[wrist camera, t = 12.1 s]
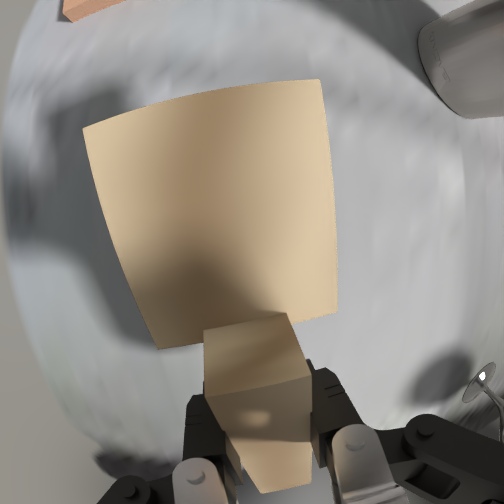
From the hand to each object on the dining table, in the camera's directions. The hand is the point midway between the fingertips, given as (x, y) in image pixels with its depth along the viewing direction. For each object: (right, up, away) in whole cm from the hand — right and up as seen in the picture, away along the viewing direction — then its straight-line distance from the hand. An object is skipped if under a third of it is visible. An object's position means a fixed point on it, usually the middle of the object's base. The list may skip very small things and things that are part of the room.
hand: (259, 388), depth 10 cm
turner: (0, +3, 0) cm, 3 cm away
